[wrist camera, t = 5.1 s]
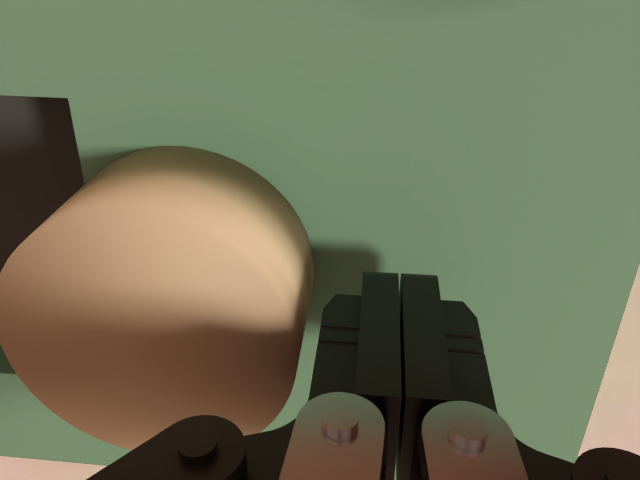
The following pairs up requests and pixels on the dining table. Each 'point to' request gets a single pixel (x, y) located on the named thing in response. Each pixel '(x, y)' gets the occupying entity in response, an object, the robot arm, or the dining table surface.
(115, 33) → the green flat block
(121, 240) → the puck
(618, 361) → the dining table surface
